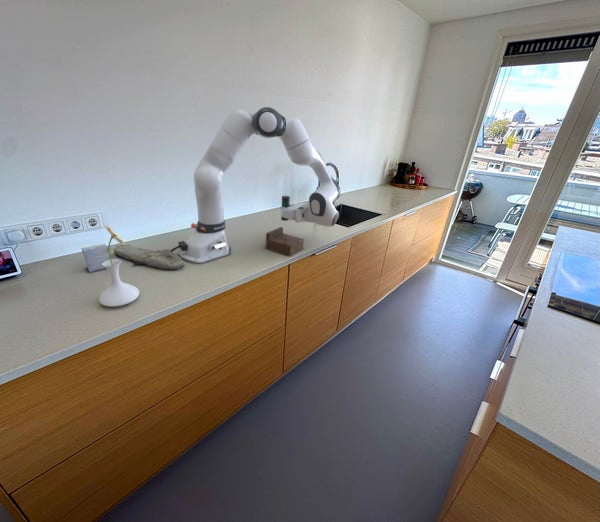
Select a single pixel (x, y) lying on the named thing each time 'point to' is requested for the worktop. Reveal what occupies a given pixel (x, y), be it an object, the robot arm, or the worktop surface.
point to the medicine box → (95, 256)
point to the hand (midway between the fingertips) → (284, 207)
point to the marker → (285, 204)
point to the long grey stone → (150, 256)
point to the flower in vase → (116, 280)
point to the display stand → (283, 242)
